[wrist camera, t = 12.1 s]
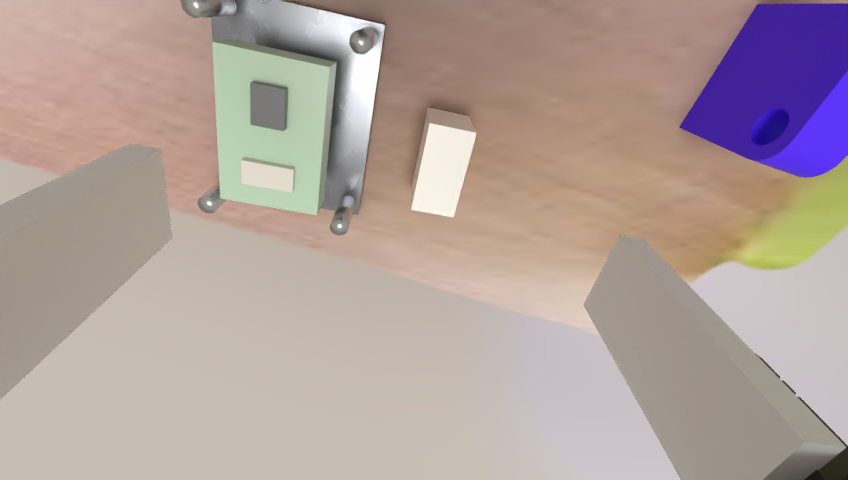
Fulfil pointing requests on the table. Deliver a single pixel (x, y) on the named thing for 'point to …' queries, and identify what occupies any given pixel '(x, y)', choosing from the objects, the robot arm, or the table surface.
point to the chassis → (353, 92)
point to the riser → (442, 162)
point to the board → (272, 125)
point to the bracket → (781, 90)
